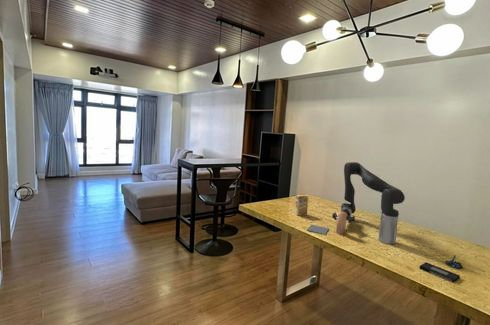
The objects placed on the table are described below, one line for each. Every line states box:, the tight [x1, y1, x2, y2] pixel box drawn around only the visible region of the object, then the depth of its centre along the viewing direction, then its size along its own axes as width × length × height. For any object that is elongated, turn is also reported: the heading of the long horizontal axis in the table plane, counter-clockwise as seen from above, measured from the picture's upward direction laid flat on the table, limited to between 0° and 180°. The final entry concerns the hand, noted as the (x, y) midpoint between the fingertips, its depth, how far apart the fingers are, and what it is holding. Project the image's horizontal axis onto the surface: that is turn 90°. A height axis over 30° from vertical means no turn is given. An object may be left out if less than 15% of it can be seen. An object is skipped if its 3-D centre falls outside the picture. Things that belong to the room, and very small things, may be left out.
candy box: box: [294, 194, 309, 216], centre depth 209 cm, size 9×4×15 cm, turn 107°
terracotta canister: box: [335, 210, 347, 236], centre depth 174 cm, size 5×5×14 cm
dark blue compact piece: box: [445, 254, 463, 270], centre depth 138 cm, size 8×7×8 cm
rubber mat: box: [306, 224, 330, 236], centre depth 178 cm, size 12×12×1 cm
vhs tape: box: [419, 262, 461, 284], centre depth 129 cm, size 8×14×2 cm, turn 34°
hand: (342, 220), depth 176 cm, fingers open, 8 cm apart
